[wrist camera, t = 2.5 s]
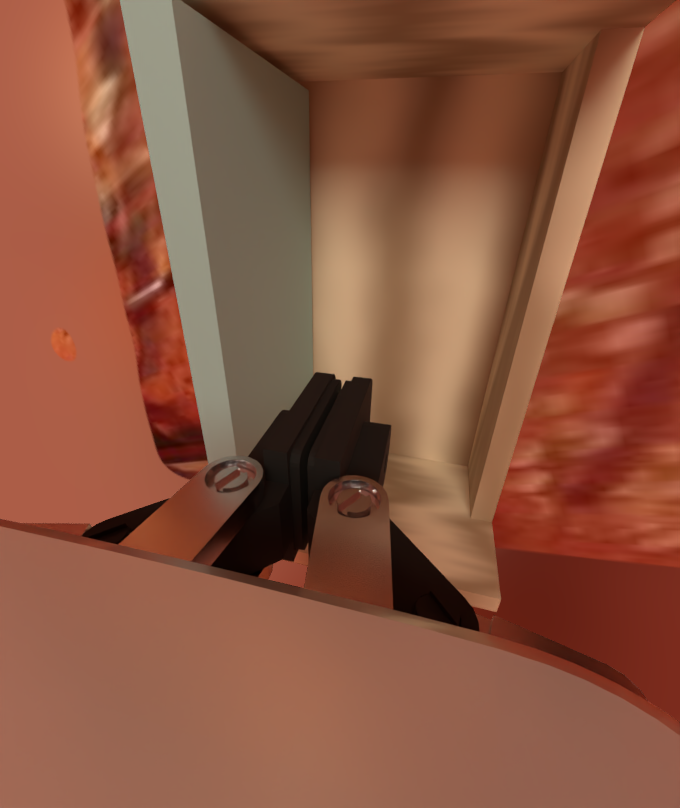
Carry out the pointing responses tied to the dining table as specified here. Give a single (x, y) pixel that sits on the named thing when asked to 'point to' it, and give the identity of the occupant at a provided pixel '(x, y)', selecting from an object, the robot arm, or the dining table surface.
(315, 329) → the wooden tray crate
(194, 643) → the robot arm
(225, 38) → the panel
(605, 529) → the dining table surface
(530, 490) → the dining table surface
